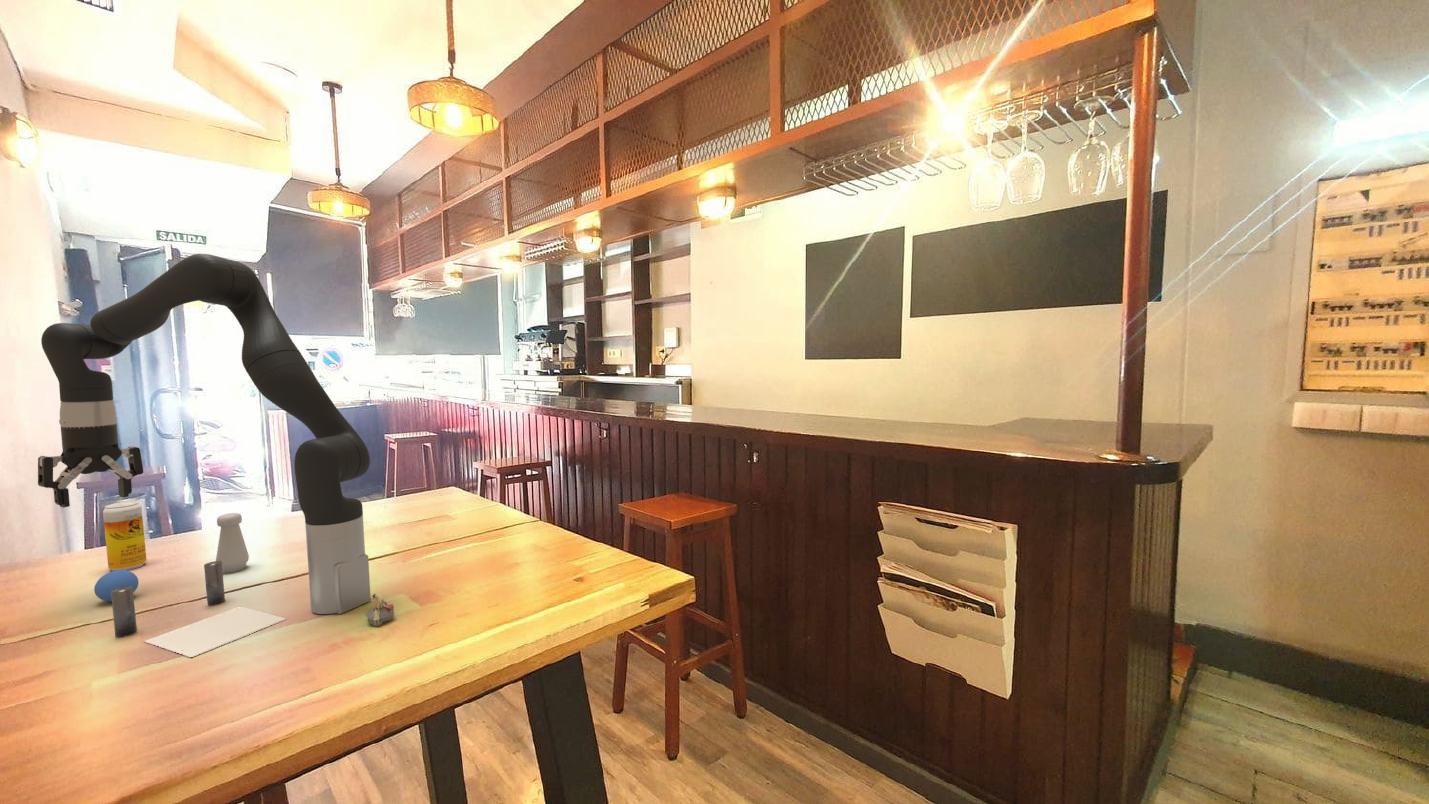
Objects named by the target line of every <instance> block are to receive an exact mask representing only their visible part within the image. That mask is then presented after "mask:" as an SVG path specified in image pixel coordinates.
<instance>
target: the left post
mask: <svg viewBox="0 0 1429 804" xmlns="http://www.w3.org/2000/svg"><path fill="white" fill-rule="evenodd" d="M134 596H135V595H134V593H133V587H122V588H118V589H115V590H113V591H111V598H112V602H111V605H112V616H113V617H112V618H113V627H114V633H115V634H114V636H115V637H116V638H124V637H128V636H131V635H134V634H135V633H137V631H138V629H137V628H138V626H137V618H136V608H135V599H134V598H135V597H134Z"/></svg>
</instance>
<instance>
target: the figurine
mask: <svg viewBox="0 0 1429 804" xmlns="http://www.w3.org/2000/svg"><path fill="white" fill-rule="evenodd" d="M371 597H372V600H374V606H373V607H371V608H370V609H368V610H367V611H366V612H365V617H366V618H367V620H366V621H367V623H369V624H371V625H372V626H373V627H378V626H381V625H382V624H384V623H386V621H387V622H389V621H391V620H392V619H393V618H394V615H395V609H394V608H395V605H394V604H392V603H391V600H389V601H386V600H385V599H384V598H382V599H381V598H380V597H379V596H378V595H377V593H374V594H373V595H372V596H371Z"/></svg>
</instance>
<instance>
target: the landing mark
mask: <svg viewBox="0 0 1429 804" xmlns="http://www.w3.org/2000/svg"><path fill="white" fill-rule="evenodd" d="M286 620H287V618H284V617H282V616H278V615H273V614H270V613H266V612H263V611H259V610H255V609H253V608H252V609H251V608H249V607H243V606H241V605H240V606H238V607H235V608H231V609H229V610H226V611H223V612H221V613H218V614H215V615H212V616H209V617H207V618H204V619H201V620H198V621H196V622H192V623H190V624H188V625H185V626H182V627H179V628H177V629H174V630H170V631H168V632H165V633H163V634H159V635H157V636H154V637H152V638H148V639H146V640H144V641H143V642H144V643H145V644H148V645H151V646H154V645H155V646H154V647H157V646H159V647H158V648H160V647H161V648H160V649H162V648H165V649H167V650H166V651H168V650H171V651H173V652H172V653H174V652H176V653H175V654H177V653H179V654H178V655H180V654H182V653H183V655H185V656H188V657H193V658H195V657H194V656H196V657H198V656H200V655H199V654H201V655H203V654H204V653H203V652H206V651H208V652H210V651H209V650H211V649H213V650H215V649H214V648H216V647H218V648H220V647H222V646H221V645H223V646H225V645H227V643H228V644H230V643H232V641H233V642H235V641H238V640H240V639H242V638H244V636H245V637H248V636H249V634H250V635H251V634H254V632H255V633H257V632H260V631H262V630H264V628H265V629H267V628H268V627H271V625H272V626H274V625H276V624H278V623H281V622H284V621H286ZM266 627H267V628H266ZM261 629H262V630H261ZM259 630H260V631H259ZM256 631H257V632H256ZM237 639H238V640H237ZM234 640H235V641H234ZM229 642H230V643H229ZM224 644H225V645H224ZM219 646H220V647H219ZM165 649H164V650H165ZM216 649H217V648H216ZM182 650H183V651H182ZM171 651H170V652H171ZM211 651H212V650H211ZM202 653H203V654H202ZM206 653H207V652H206ZM183 655H182V656H183ZM197 655H198V656H197ZM185 656H184V657H185ZM188 657H187V658H188Z"/></svg>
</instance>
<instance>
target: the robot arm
mask: <svg viewBox="0 0 1429 804" xmlns="http://www.w3.org/2000/svg"><path fill="white" fill-rule="evenodd" d="M193 302H202V303H207V304H212V305H219V306H224V307H226V308H227V309H228V310H229V311H230V312H231V313H232V315H233V316H234V318H236V320H237V322H238V324H239V326H240V327H241V329H242V332H243V341H242V348H241V362H242V365H243V367H244V369H245V372H246V373H247V375H248V376H249V378H250V380H251V381H252V383H253V384H254V386H255V388H256V389H257V390H258V392H259V393H260V394H261V395H262V396H263V397H264V398H265V399H267V401H269V402H271V403H272V404H273V405H275V406H276V407H278V408H279V409H281V410H283V411H284V412H286V413H287V414H289V415H290V416H292V417H294V419H295V418H296V419H297V420H298V421H299V422H301V423H302V424H304V426H306V427H307V428H308V429H309V431H310V432H311V433H312V434H313V436H314V438H312V439H309V440H306V441H304V442H302V443H301V444H300V445H299V446H298V448H297V450H296V452H295V454H294V463H293V464H294V466H293V467H294V476H295V483H296V489H297V490H296V491H297V496H298V497H297V498H298V503H299V507H300V509H301V512H302V513H303V515H304V516H303V517H304V520H305V521H304V523H305V536H306V537H305V538H306V551H307V553H306V554H307V568H308V569H307V571H308V580H309V583H308V584H309V593H310V594H309V596H310V608H311V609H310V610H311V612H312V613H313V614H318V615H331V614H338V615H339V614H344V613H346V612H349V611H350V610H352V609H356V608H358V607H360V606H361V605H364V604H367V603H369V602H371V601H372V600H371V599H372V598H371V597H372V596H371V582H370V565H369V563H370V562H369V555H368V554H366V549H365V548H366V546H365V531H364V528H365V527H364V511H363V503H362V501H361V500H359V499H357V498H353V497H352V498H351V497H345V496H344V495H343V491H342V486H341V483H343V482H347V481H351V480H354V479H358V478H360V477H362V476H364V475H365V474H366V473H367V472H368V470H369V468H370V464H371V457H370V452H369V450H368V447H367V444H365V442H364V440H363V439H362V438H361V436H360V435H359V434H358V433H357V431H356V430H355V429H354V428H353V426H352V425H351V424H350V423H349V421H347V419H346V418H345V417H344V415H343V414H342V413H341V412H340V411H339V409H338V408H337V406H336V405H335V404H334V402H333V401H332V399H331V398H330V396H329V395H328V393H327V391H325V389H324V388H323V386H322V385H321V384H320V382H319V380H318V379H317V377H316V376H315V373H314V372H313V371H312V369H311V367H310V366H309V364H308V362H307V361H306V359H305V357H304V355H303V354H302V352H300V350H299V348H298V347H297V346H296V344H295V342H293V339H292V338H291V337H290V335H289V333H288V332H287V330H286V328H285V327H284V324H282V322H281V320H280V318H279V317H278V315H277V313H276V312H275V309H274V307H273V306H272V303H271V302H270V300H269V297H268V295H267V293H266V290H265V289H264V286H263V285H262V283H261V281H260V279H259V277H258V276H257V274H256V273H255V272H254V270H253V268H251V267H249V266H248V265H246V264H244V263H243V262H240V261H237V260H233V259H228V258H224V257H222V256H221V257H220V256H218V255H215V254H214V255H213V254H209V253H195V254H192V255H190V256H187V257H185V258H183V259H181V260H180V261H178V262H177V263H176V264H174V265H173V266H171V267H170V268H168V269H167V270H166V271H165V272H164V273H162V274H161V275H160V276H158V277H157V278H155V279H154V280H153V281H152V282H150V283H149V284H147V285H146V286H145V287H144V288H142V289H141V290H139V291H138V292H136V293H134V294H133V295H131V296H129V297H128V298H125V299H123V300H121V301H119V302H116V303H115V304H113V305H111V306H108V307H106V308H104V309H101V310H99V311H98V312H96V313H95V314H93V316H92V317H91V319H90V323H88V324H87V323H73V322H71V323H69V322H67V323H66V322H60V323H59V322H58V323H53V324H51V325H49V326H47V327H46V328H45V330H44V331H43V333H42V336H41V339H40V341H41V348H42V350H43V353H44V354H45V356H46V358H47V360H48V362H49V364H50V366H51V368H52V371H53V373H54V374H55V377H56V379H57V381H58V387H59V388H58V390H59V400H60V407H59V419H58V423H59V425H60V434H61V435H60V437H61V448H62V452H61V454H60V455H55V456H54V455H53V456H47V455H40V456H39V457H38V459H37V485H38V486H39V487H42V488H45V489H46V488H47V489H52V490H53V499H54V503H55V505H57V506H59V507H60V508H69V507H70V505H71V504H70V493H69V488H68V486H69V485H70V484H71V483H72V482H73V481H74V480H75V479H77V478H78V477H79V475H80V474H82V475H88V474H89V475H90V474H93V473H102V472H103V473H104V472H107V471H109V472H111V473H112V474H114V475H116V476H117V477H119V478H118V479H117V486H118V487H117V488H118V496H119V497H120V498H122V499H124V498H128V497H129V495H130V494H132V492H133V489H132V488H133V487H132V479H133V478H134V477H135V476H136V477H137V476H138V475H139V476H140V475H143V474H144V466H143V465H144V464H143V459H142V452H141V449H140V447H137V446H128V447H125V448H120V446H119V436H118V435H119V434H118V423H117V422H118V421H117V411H116V407H115V404H114V393H113V382H112V377H111V376H110V374H108V373H107V372H104V371H99V370H92V369H90V367H88V365H87V363H86V362H85V360H104V359H109V358H112V357H115V356H117V355H119V354H121V353H122V352H123V351H124V350H125V349H126V348H127V347H128V346H129V345H130V344H132V343H133V341H135V340H138V339H140V338H141V337H144V336H147V335H149V334H151V333H153V332H155V331H157V330H159V328H161V327H163V325H164V324H165V323H166V322H167V320H168V318H169V317H170V313H171V311H172V310H173V309H174V308H176V307H178V306H181V305H185V304H188V303H193ZM122 455H123V457H124V458H126V459H127V461H128V467H129V470H127V469H126V468H125V467H123V466H122V464H119V463H118V462H117V461H118V460H119V458H120V457H122ZM60 462H61V463H62V464H64V465H65V466H66V467H65V468H64V469H63V470H61V472H60V473H59V476H58V477H57V478H56V479H55V480H54V468H56V467H57V466H58V465H59V463H60Z"/></svg>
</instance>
